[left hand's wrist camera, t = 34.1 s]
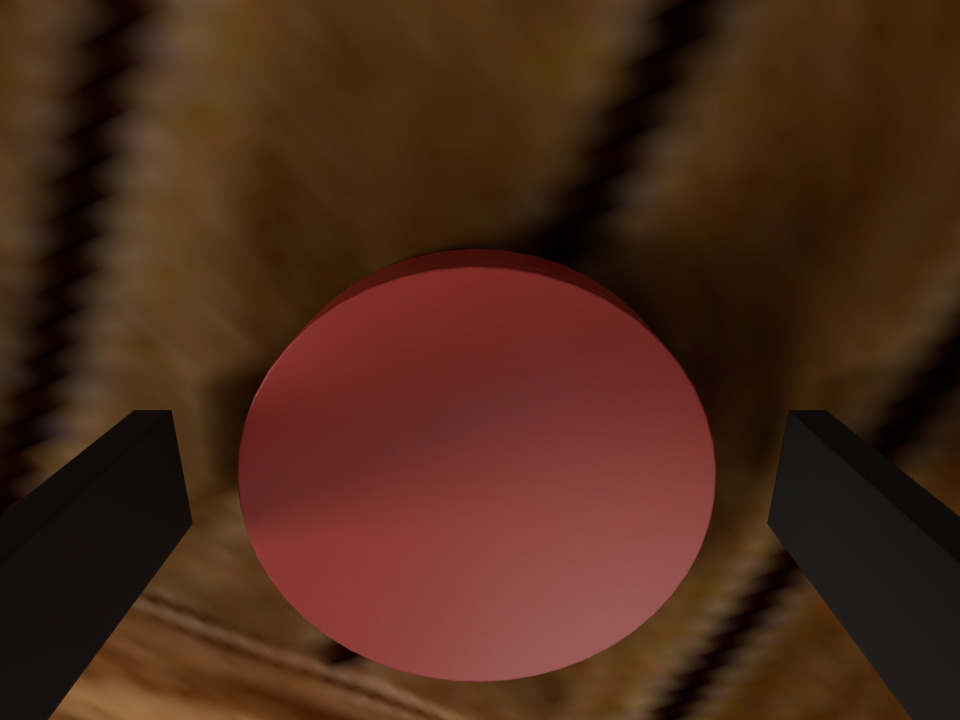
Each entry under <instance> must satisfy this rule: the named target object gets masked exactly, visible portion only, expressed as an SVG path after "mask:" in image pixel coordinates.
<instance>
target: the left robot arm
mask: <svg viewBox="0 0 960 720" xmlns="http://www.w3.org/2000/svg"><path fill="white" fill-rule="evenodd" d="M192 524H193V523H192V518H191V512H190V507H189V502H188V496H187V491H186V486H185V480H184V475H183V470H182V465H181V459H180V454H179V449H178V443H177V438H176V433H175V427H174V422H173V417H172V411H171V410H134V411H133V412H131V413H130V414H129V415H128V416H126V417H125V418H124V419H123V420H121V421H120V422H119V423H118V424H116V425H115V426H114V427H112V428H111V429H110V430H109V431H107V432H106V433H105V434H104V435H102V436H101V437H100V438H99V439H97V440H96V441H95V442H94V443H92V444H91V445H90V446H89V447H87V448H86V449H85V450H84V451H82V452H81V453H80V454H79V455H77V456H76V457H75V458H74V459H72V460H71V461H70V462H69V463H67V464H66V465H65V466H64V467H62V468H61V469H60V470H59V471H57V472H56V473H55V474H54V475H52V476H51V477H50V478H49V479H47V480H46V481H45V482H43V483H42V484H41V485H40V486H38V487H37V488H36V489H35V490H33V491H32V492H31V493H30V494H28V495H27V496H26V497H25V498H23V499H22V500H21V501H20V502H18V503H17V504H16V505H15V506H13V507H12V508H11V509H10V510H8V511H7V512H6V513H5V514H3V515H2V516H1V517H0V720H48V719H49V717H50V716H51V715H52V713H53V712H54V711H55V709H56V708H57V707H58V705H59V704H60V703H61V701H62V700H63V699H64V697H65V696H66V694H67V693H68V692H69V690H70V689H71V688H72V686H73V685H74V684H75V682H76V681H77V680H78V678H79V677H80V675H81V674H82V673H83V671H84V670H85V669H86V667H87V666H88V665H89V663H90V662H91V661H92V659H93V658H94V657H95V655H96V654H97V652H98V651H99V650H100V648H101V647H102V646H103V644H104V643H105V642H106V640H107V639H108V638H109V636H110V635H111V634H112V632H113V631H114V629H115V628H116V627H117V625H118V624H119V623H120V621H121V620H122V619H123V617H124V616H125V615H126V613H127V612H128V611H129V609H130V608H131V606H132V605H133V604H134V602H135V601H136V600H137V598H138V597H139V596H140V594H141V593H142V592H143V590H144V589H145V587H146V586H147V585H148V583H149V582H150V581H151V579H152V578H153V577H154V575H155V574H156V573H157V571H158V570H159V569H160V567H161V566H162V564H163V563H164V562H165V560H166V559H167V558H168V556H169V555H170V554H171V552H172V551H173V550H174V548H175V547H176V546H177V544H178V543H179V541H180V540H181V539H182V537H183V536H184V535H185V533H186V532H187V531H188V529H189V528H190V527H191V525H192ZM767 524H768V525H769V527H770V528H771V529H772V531H773V532H774V533H775V535H776V536H777V537H778V539H779V540H780V541H781V543H782V544H783V545H784V547H785V548H786V550H787V551H788V552H789V554H790V555H791V556H792V558H793V559H794V560H795V562H796V563H797V564H798V566H799V567H800V568H801V570H802V571H803V573H804V574H805V575H806V577H807V578H808V579H809V581H810V582H811V583H812V585H813V586H814V587H815V589H816V590H817V592H818V593H819V594H820V596H821V597H822V598H823V600H824V601H825V602H826V604H827V605H828V606H829V608H830V609H831V610H832V612H833V613H834V615H835V616H836V617H837V619H838V620H839V621H840V623H841V624H842V625H843V627H844V628H845V629H846V631H847V632H848V633H849V635H850V636H851V638H852V639H853V640H854V642H855V643H856V644H857V646H858V647H859V648H860V650H861V651H862V652H863V654H864V655H865V657H866V658H867V659H868V661H869V662H870V663H871V665H872V666H873V667H874V669H875V670H876V671H877V673H878V674H879V675H880V677H881V678H882V680H883V681H884V682H885V684H886V685H887V686H888V688H889V689H890V690H891V692H892V693H893V694H894V696H895V697H896V698H897V700H898V701H899V703H900V704H901V705H902V707H903V708H904V709H905V711H906V712H907V713H908V715H909V716H910V717H911V719H912V720H960V517H959V516H958V515H957V514H955V513H954V512H953V511H952V510H950V509H949V508H948V507H947V506H945V505H944V504H943V503H942V502H940V501H939V500H938V499H937V498H935V497H934V496H933V495H932V494H930V493H929V492H928V491H927V490H925V489H924V488H923V487H922V486H920V485H919V484H918V483H917V482H915V481H914V480H913V479H912V478H910V477H909V476H908V475H906V474H905V473H904V472H903V471H901V470H900V469H899V468H898V467H896V466H895V465H894V464H893V463H891V462H890V461H889V460H888V459H886V458H885V457H884V456H883V455H881V454H880V453H879V452H878V451H876V450H875V449H874V448H873V447H871V446H870V445H869V444H868V443H866V442H865V441H864V440H863V439H861V438H860V437H859V436H858V435H856V434H855V433H854V432H853V431H851V430H850V429H849V428H848V427H846V426H845V425H844V424H843V423H841V422H840V421H839V420H837V419H836V418H835V417H834V416H832V415H831V414H830V413H829V412H827V411H826V410H789V412H788V417H787V422H786V427H785V433H784V438H783V443H782V449H781V454H780V459H779V465H778V470H777V475H776V481H775V486H774V491H773V497H772V502H771V507H770V513H769V518H768V523H767Z"/></svg>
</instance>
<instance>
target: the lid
mask: <svg viewBox="0 0 960 720" xmlns="http://www.w3.org/2000/svg"><path fill="white" fill-rule="evenodd" d="M716 471H717V469H716V459H715V450H714V441H713V437H712V434H711V430H710V426H709V422H708V418H707V414H706V412H705V410H704V408H703V405H702V403H701V401H700V398H699V396H698V394H697V391H696V389H695V387H694V385H693V384H692V382H691V381H690V379H689V378H688V376H687V374H686V373H685V371H684V370H683V368H682V366H681V365H680V363H679V362H678V361H677V359H676V358H675V357H674V356H673V355H672V354H671V352H670V351H669V350H668V349H667V348H666V347H665V345H664V344H663V343H662V342H661V341H660V340H659V338H658V337H657V336H656V335H655V334H654V333H653V331H652V330H651V329H650V328H649V327H648V326H647V324H646V323H645V322H644V321H643V320H642V319H641V317H640V316H639V315H638V314H637V313H636V312H635V311H634V310H633V309H632V308H631V307H629V306H628V305H627V304H626V303H625V302H624V301H623V300H621V299H620V298H619V297H618V296H617V295H616V294H614V293H613V292H611V291H610V290H608V289H607V288H605V287H604V286H602V285H601V284H599V283H598V282H596V281H595V280H593V279H591V278H590V277H588V276H586V275H583V274H581V273H579V272H577V271H575V270H573V269H571V268H569V267H567V266H564V265H562V264H559V263H556V262H553V261H549V260H546V259H543V258H540V257H537V256H534V255H528V254H523V253H517V252H511V251H506V250H491V249H462V250H451V251H440V252H436V253H431V254H427V255H422V256H418V257H413V258H409V259H407V260H404V261H401V262H398V263H396V264H393V265H390V266H388V267H385V268H382V269H380V270H378V271H376V272H375V273H373V274H371V275H369V276H367V277H365V278H363V279H361V280H359V281H358V282H356V283H354V284H353V285H351V286H350V287H349V288H347V289H346V290H345V291H343V292H342V293H340V294H339V295H338V296H336V297H335V298H333V299H332V300H331V301H330V302H329V303H328V304H327V305H326V306H325V307H324V308H323V309H322V310H321V311H320V312H319V313H318V314H316V315H315V316H314V317H313V318H312V319H311V320H310V322H309V323H308V324H307V325H306V326H305V327H304V328H303V329H302V330H301V331H300V333H299V334H298V335H297V336H296V337H295V338H294V339H293V340H292V341H291V343H290V344H289V345H288V346H287V347H286V348H285V350H284V351H283V352H282V354H281V355H280V356H279V357H278V359H277V360H276V361H275V363H274V364H273V365H272V367H271V368H270V369H269V371H268V372H267V374H266V376H265V378H264V380H263V381H262V383H261V385H260V387H259V389H258V390H257V392H256V394H255V396H254V398H253V401H252V404H251V406H250V409H249V412H248V414H247V417H246V420H245V423H244V427H243V432H242V437H241V442H240V447H239V455H238V476H237V479H238V489H239V498H240V507H241V511H242V514H243V518H244V522H245V526H246V530H247V533H248V535H249V538H250V540H251V543H252V545H253V547H254V550H255V552H256V555H257V557H258V559H259V560H260V562H261V564H262V565H263V567H264V569H265V570H266V572H267V574H268V575H269V577H270V579H271V580H272V582H273V583H274V584H275V585H276V587H277V588H278V589H279V591H280V592H281V593H282V594H283V596H284V597H285V598H286V599H287V601H288V602H289V603H290V604H291V605H292V606H293V607H294V608H295V609H296V610H297V611H298V612H299V613H300V614H301V615H302V616H303V617H304V618H305V619H306V620H308V621H309V622H310V623H312V624H313V625H314V626H315V627H317V628H318V629H319V630H320V631H322V632H323V633H324V634H326V635H327V636H328V637H330V638H332V639H333V640H335V641H336V642H338V643H340V644H341V645H343V646H345V647H346V648H348V649H349V650H351V651H353V652H356V653H358V654H360V655H362V656H364V657H366V658H368V659H370V660H372V661H375V662H377V663H380V664H383V665H386V666H389V667H392V668H394V669H397V670H400V671H404V672H408V673H412V674H417V675H421V676H425V677H430V678H438V679H445V680H453V681H476V682H485V681H500V680H512V679H518V678H524V677H530V676H536V675H540V674H543V673H547V672H551V671H554V670H558V669H562V668H565V667H567V666H570V665H572V664H575V663H577V662H580V661H583V660H585V659H588V658H590V657H592V656H594V655H596V654H597V653H599V652H601V651H603V650H605V649H607V648H609V647H611V646H613V645H614V644H616V643H617V642H619V641H620V640H622V639H623V638H625V637H626V636H628V635H629V634H631V633H632V632H634V631H635V630H636V629H637V628H639V627H640V626H641V625H642V624H643V623H645V622H646V621H647V620H648V619H649V618H650V617H652V616H653V615H654V614H655V613H656V612H657V611H658V610H659V609H660V608H661V607H662V605H663V604H664V603H665V602H666V601H667V600H668V599H669V598H670V597H671V596H672V595H673V593H674V592H675V591H676V589H677V588H678V586H679V585H680V584H681V582H682V581H683V579H684V578H685V577H686V575H687V574H688V572H689V570H690V568H691V566H692V565H693V563H694V561H695V559H696V557H697V555H698V553H699V551H700V549H701V547H702V544H703V541H704V538H705V536H706V533H707V530H708V527H709V525H710V520H711V515H712V510H713V505H714V501H715V490H716Z"/></svg>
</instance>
